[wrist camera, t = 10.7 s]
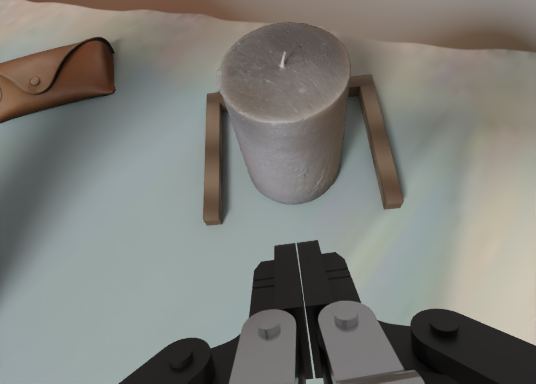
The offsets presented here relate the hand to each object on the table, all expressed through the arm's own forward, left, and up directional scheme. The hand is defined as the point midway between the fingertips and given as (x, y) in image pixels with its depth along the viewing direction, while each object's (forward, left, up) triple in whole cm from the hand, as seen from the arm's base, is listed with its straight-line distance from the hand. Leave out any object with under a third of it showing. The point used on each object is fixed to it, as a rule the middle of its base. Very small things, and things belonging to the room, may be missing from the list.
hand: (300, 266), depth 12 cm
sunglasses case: (-39, +19, -21) cm, 48 cm away
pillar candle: (-5, +15, -20) cm, 26 cm away
